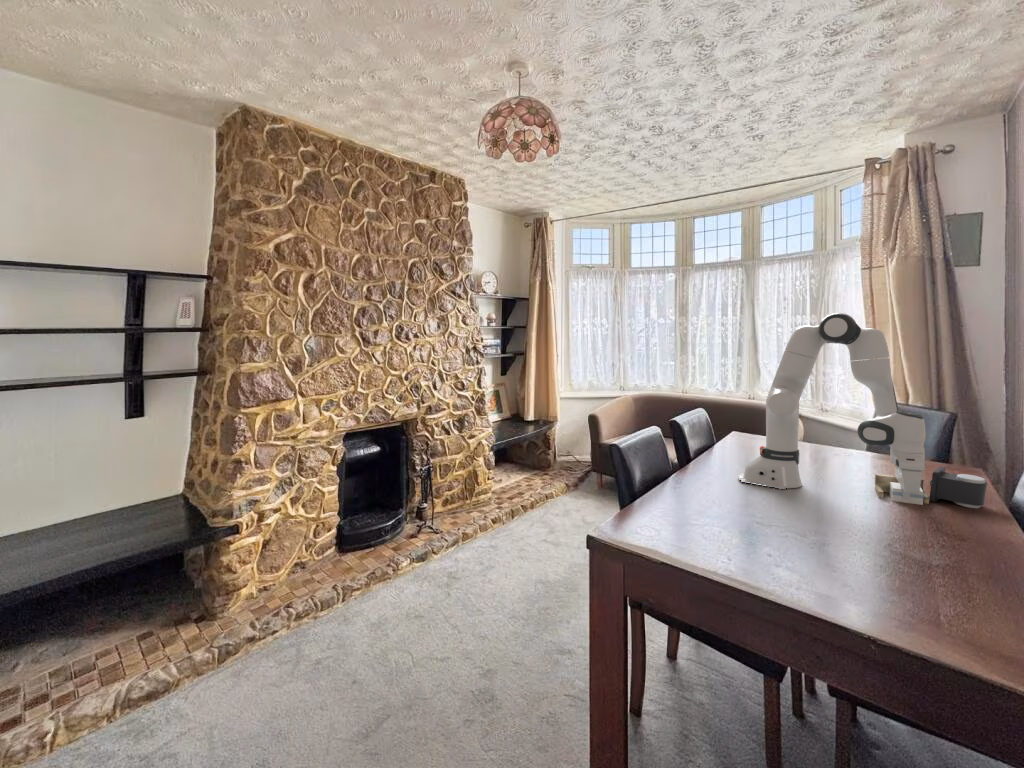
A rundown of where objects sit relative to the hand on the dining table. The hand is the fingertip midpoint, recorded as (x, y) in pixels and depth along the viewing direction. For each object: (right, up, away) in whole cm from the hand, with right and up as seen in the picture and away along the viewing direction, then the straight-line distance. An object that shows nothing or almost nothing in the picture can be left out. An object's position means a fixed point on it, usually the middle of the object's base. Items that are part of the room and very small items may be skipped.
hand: (905, 498), depth 154 cm
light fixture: (+18, -2, 0) cm, 18 cm away
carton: (+4, -2, +5) cm, 6 cm away
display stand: (+4, -1, +7) cm, 8 cm away
